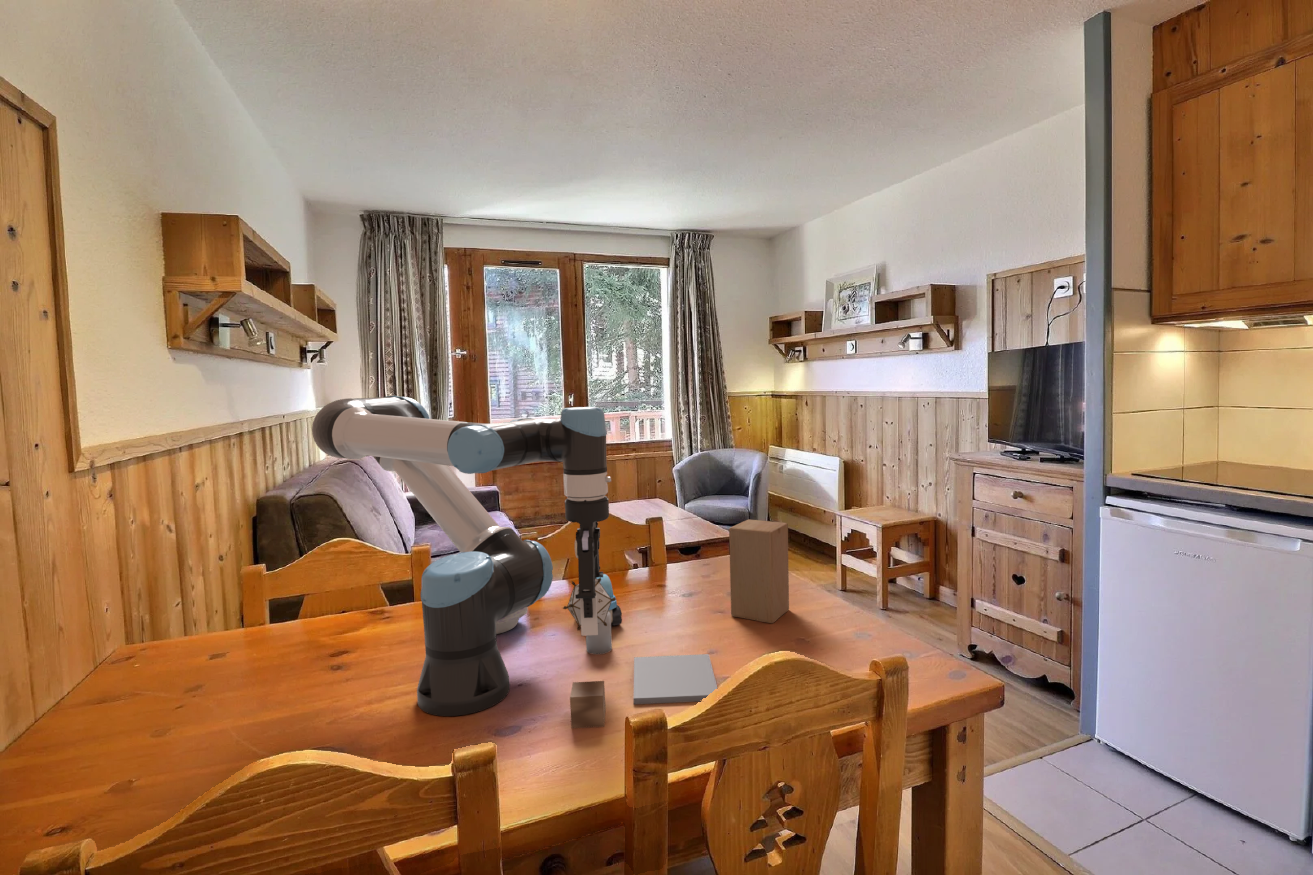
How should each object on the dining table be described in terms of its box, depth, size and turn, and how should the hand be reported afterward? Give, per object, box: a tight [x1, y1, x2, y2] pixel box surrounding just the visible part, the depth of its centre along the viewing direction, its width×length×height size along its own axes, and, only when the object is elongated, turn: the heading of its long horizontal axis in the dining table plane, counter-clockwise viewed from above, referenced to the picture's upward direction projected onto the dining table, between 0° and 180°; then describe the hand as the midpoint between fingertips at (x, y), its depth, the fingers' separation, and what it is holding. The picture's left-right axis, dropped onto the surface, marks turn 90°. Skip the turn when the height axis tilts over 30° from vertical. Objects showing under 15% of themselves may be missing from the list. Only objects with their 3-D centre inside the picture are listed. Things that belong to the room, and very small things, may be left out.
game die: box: [562, 577, 617, 632], centre depth 115 cm, size 9×8×10 cm
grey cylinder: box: [585, 612, 613, 655], centre depth 129 cm, size 5×5×7 cm
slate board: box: [632, 653, 718, 705], centre depth 115 cm, size 14×16×1 cm
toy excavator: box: [574, 539, 623, 626], centre depth 146 cm, size 9×17×17 cm, turn 21°
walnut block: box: [569, 680, 606, 729], centre depth 103 cm, size 5×5×5 cm
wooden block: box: [728, 519, 790, 624], centre depth 146 cm, size 10×10×20 cm
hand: (591, 623), depth 115 cm, fingers closed on game die, 9 cm apart
